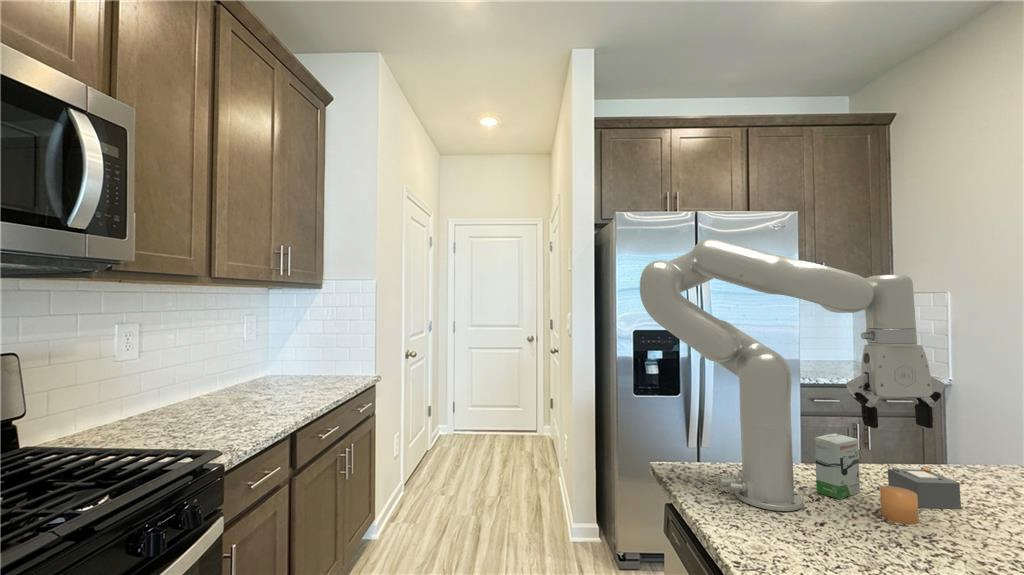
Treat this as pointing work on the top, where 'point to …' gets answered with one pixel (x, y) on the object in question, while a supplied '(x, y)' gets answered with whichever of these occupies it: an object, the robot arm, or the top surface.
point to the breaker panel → (928, 488)
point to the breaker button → (922, 475)
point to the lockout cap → (899, 505)
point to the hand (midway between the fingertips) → (897, 426)
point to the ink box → (837, 465)
